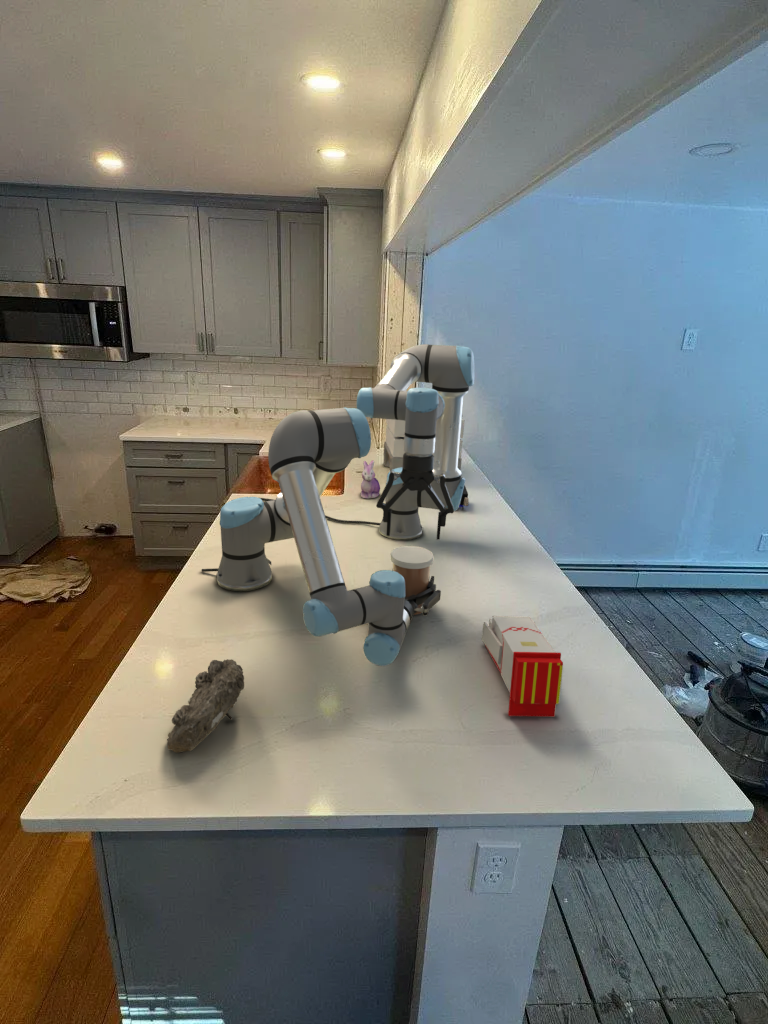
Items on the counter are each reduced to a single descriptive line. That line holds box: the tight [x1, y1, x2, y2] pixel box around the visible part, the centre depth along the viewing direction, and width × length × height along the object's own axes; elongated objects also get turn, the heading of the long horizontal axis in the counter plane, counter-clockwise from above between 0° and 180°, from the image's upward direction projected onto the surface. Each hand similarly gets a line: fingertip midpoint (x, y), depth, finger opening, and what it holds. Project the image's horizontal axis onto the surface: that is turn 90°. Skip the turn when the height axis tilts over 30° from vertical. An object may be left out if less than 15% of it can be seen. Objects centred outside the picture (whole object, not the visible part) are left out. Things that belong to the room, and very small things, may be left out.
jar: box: [391, 562, 431, 616], centre depth 149 cm, size 10×10×15 cm
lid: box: [390, 545, 434, 569], centre depth 147 cm, size 11×11×2 cm
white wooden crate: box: [383, 417, 465, 472], centre depth 268 cm, size 34×33×41 cm
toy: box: [481, 615, 564, 718], centre depth 123 cm, size 12×13×30 cm
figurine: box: [360, 460, 381, 499], centre depth 236 cm, size 9×10×15 cm
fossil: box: [166, 658, 245, 754], centre depth 106 cm, size 22×10×15 cm
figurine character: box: [458, 485, 470, 511], centre depth 230 cm, size 7×8×15 cm
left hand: (413, 577), depth 154 cm, fingers closed on jar, 10 cm apart
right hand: (413, 536), depth 145 cm, fingers open, 12 cm apart
